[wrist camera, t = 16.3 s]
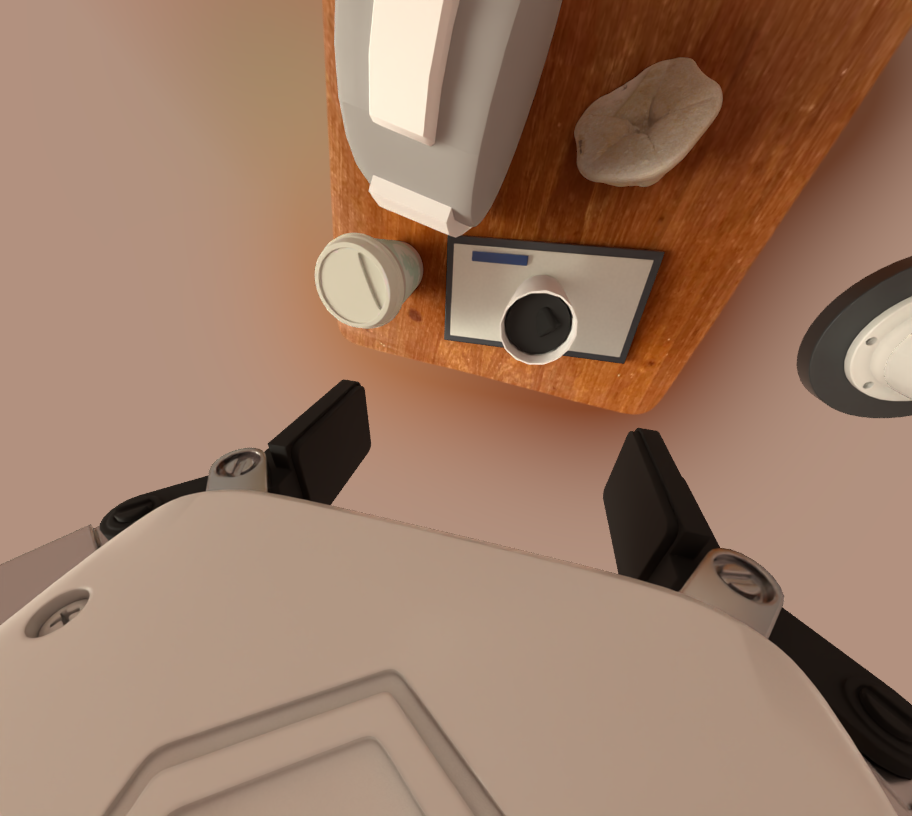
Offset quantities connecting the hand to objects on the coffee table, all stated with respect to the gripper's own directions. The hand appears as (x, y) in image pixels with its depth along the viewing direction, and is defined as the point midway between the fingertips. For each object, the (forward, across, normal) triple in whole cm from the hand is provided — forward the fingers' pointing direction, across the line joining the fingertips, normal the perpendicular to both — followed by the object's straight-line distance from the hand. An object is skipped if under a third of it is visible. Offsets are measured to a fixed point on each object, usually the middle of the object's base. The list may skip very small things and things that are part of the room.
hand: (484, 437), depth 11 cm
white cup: (+29, -2, +2) cm, 29 cm away
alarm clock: (+31, +6, -14) cm, 34 cm away
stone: (+31, -7, -13) cm, 34 cm away
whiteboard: (+30, -2, +2) cm, 30 cm away
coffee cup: (+31, +15, 0) cm, 34 cm away
